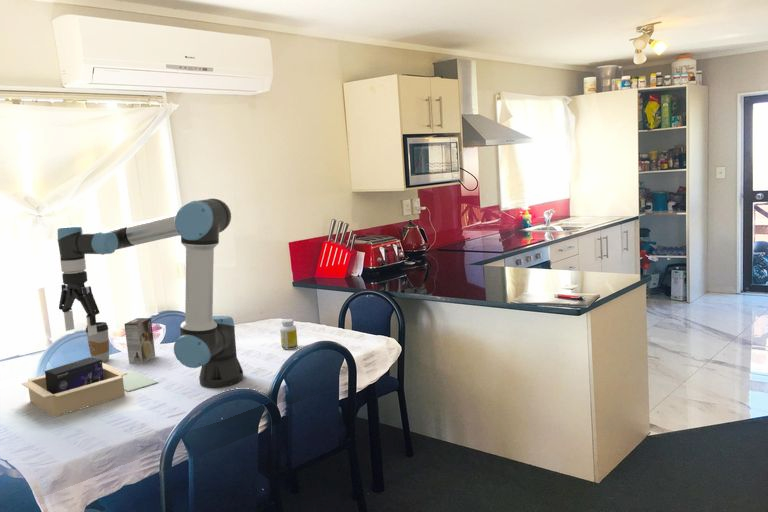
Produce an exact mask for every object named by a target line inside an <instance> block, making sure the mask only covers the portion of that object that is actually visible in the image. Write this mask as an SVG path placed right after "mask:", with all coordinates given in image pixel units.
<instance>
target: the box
mask: <svg viewBox="0 0 768 512" xmlns="http://www.w3.org/2000/svg"><path fill="white" fill-rule="evenodd" d="M44 375H45V377H46V387H47V391H49V392H50V393H52V394H56V393H60V392H63V391H67V390H70V389H74V388H78V387H81V386H85V385H88V384H92V383H95V382H99V381H102V380H104V377H103V365H102V360H101V359H97V358H94V357H91V356H90V357H86V358H83V359H80V360H77V361H74V362H73V361H72V362H70V363H67V364H64V365H60V366H57V367H53V368H50V369H47V370H44Z"/></svg>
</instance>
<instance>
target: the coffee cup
mask: <svg viewBox="0 0 768 512" xmlns="http://www.w3.org/2000/svg"><path fill="white" fill-rule="evenodd" d="M96 328H97V334H94V335H90V336H89V335H88V327H87V326H86V327H85V333H86V336H87V338H86V339H87V344H88V348H89V349H88V350H89V353H90V354H89V355H90V357H94V358H97V359H101V360H102V363H106V362H108V361H109V359H110V339H109V325H108V324H107V322H105V321H99V322H97V321H96Z"/></svg>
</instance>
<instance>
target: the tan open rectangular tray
mask: <svg viewBox="0 0 768 512" xmlns="http://www.w3.org/2000/svg"><path fill="white" fill-rule="evenodd" d="M102 365H103V377H104V380H102V381H99V382H95V383H92V384H88V385H85V386H81V387H78V388H74V389H70V390H67V391H63V392H60V393H56V394H52V393H50V392H49V391H47V387H46V377H45V374H44V375H40V376H36V377H32V378H29V379H28V380H27V381H26V382H22V383H21V385H22V386H24V387H25V388H27V389H28V395H29V400H30V401H29V402H30V403H32V404H34V405H35V406H36V407H38V408H40V409H41V410H43V411H44V412H46V413H47V414H49V415H51V417H54V418H55V417H59V416H62V415H61V414H63V415H65V414H64V413H66V414H68V413H67V412H69V413H71V412H70V411H72V412H75V411H74V410H76V411H79V410H81V409H80V408H82V409H85V408H84V407H86V408H88V407H87V406H89V407H91V405H92V406H94V405H98V403H99V404H102V403H104V401H105V402H107V400H108V401H112V400H115V399H119V398H121V397H124V396H126V394H125V392H126V391H125V390H124V384H123V375H127V373H125V372H126V371H122V370H120V369H119V368H116V367H114V366H111V365H109V364H108V363H107V364H106V362H103V363H102ZM111 399H112V400H111ZM78 409H79V410H78Z"/></svg>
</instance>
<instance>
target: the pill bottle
mask: <svg viewBox="0 0 768 512" xmlns="http://www.w3.org/2000/svg"><path fill="white" fill-rule="evenodd" d="M281 325H282V326H281V327H280V328H279V329H280V343H281V349H282V348H283V349H282V350H285V349H291V350H294V348H295V349H297V348H298V346H299V345H298V333H297V327H296V325H294V319H293V318H285V319H282V320H281ZM296 347H297V348H296Z"/></svg>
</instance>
